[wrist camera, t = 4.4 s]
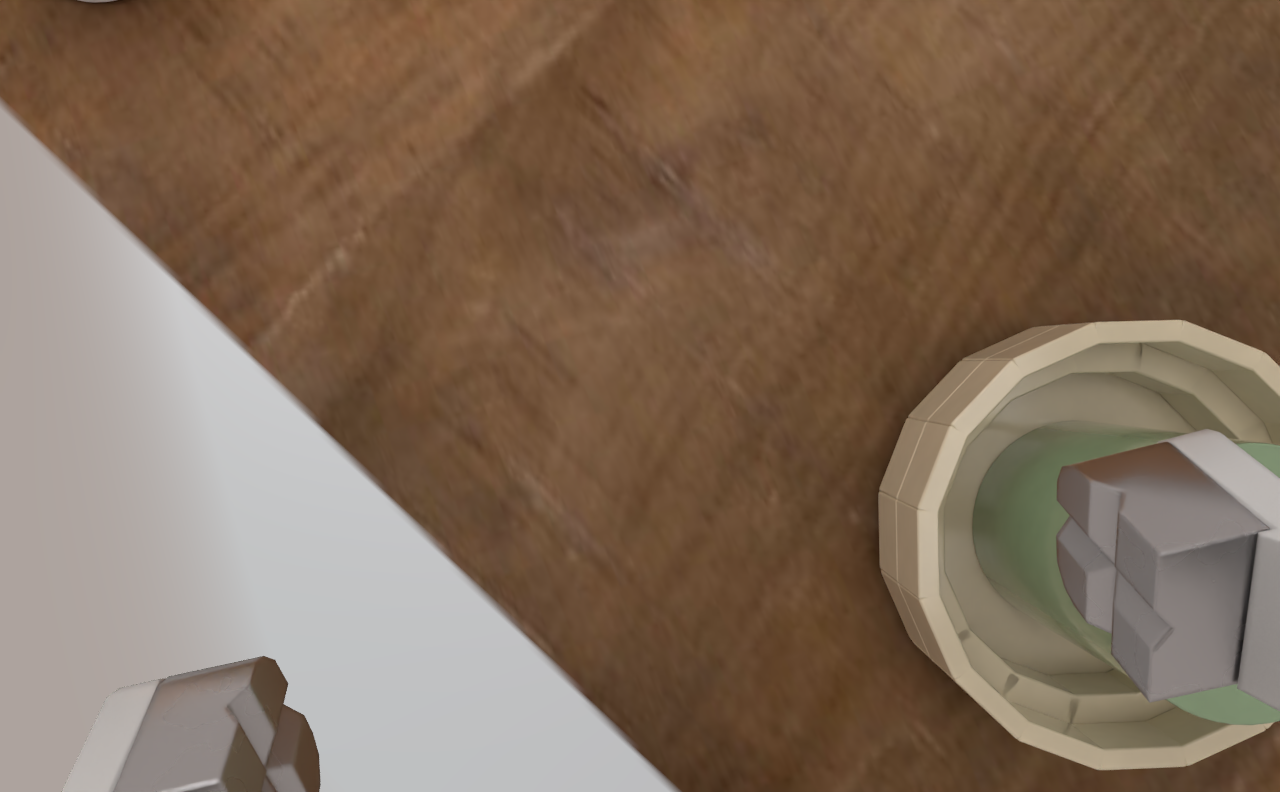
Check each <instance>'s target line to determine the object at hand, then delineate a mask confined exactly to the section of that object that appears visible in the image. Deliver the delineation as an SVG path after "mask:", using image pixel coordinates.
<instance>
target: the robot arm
mask: <svg viewBox="0 0 1280 792" xmlns="http://www.w3.org/2000/svg"><path fill="white" fill-rule="evenodd" d="M1056 500H1057V501H1058V502H1059V504H1060V505H1061V506H1062V507H1063V508H1064V509H1065V511H1066V512H1067V513H1068V514H1069V515H1070V516H1069V517H1068V519H1067V520H1066V522H1065V523H1064V525H1063V526H1062V527H1061V529H1060V530H1059V532H1058V533H1057V535H1056V550H1057V564H1058V567H1059V571H1060V574H1061V578H1062V581H1063V585H1064V588H1065V590H1066V592H1067V594H1068V595H1069V597H1070V599H1071V601H1072V603H1073V605H1074V607H1075V608H1076V609H1077V611H1078V612H1079V613H1080V615H1081V616H1082V617H1083V619H1084V620H1085V621H1086V623H1088V624H1090V625H1093V626H1095V627H1097V628H1100V629H1102V630H1104V631H1106V632H1109V633H1111V634H1112V640H1111V655H1112V656H1113V657H1114V658H1115V660H1116V661H1117V662H1118V664H1119V665H1120V666H1121V667H1122V669H1123V670H1124V671H1125V672H1126V674H1127V675H1128V676H1129V677H1130V679H1131V680H1132V681H1133V682H1134V684H1135V685H1136V686H1137V688H1138V689H1139V690H1140V691H1141V693H1142V694H1143V695H1144V696H1145V698H1146V699H1147V700H1148V701H1149V703H1151V702H1155V701H1160V700H1165V699H1169V698H1174V697H1179V696H1183V695H1188V694H1193V693H1197V692H1202V691H1207V690H1211V689H1216V688H1221V687H1225V686H1230V685H1235V684H1237V689H1239V690H1241V691H1243V692H1245V693H1247V694H1248V695H1250V696H1252V697H1254V698H1256V699H1258V700H1260V701H1261V702H1263V703H1265V704H1267V705H1269V706H1271V707H1273V708H1274V709H1276V710H1278V711H1280V478H1279V477H1277V476H1276V475H1275V474H1274V473H1272V472H1271V471H1270V470H1268V469H1267V468H1266V467H1265V466H1263V465H1262V464H1261V463H1259V462H1258V461H1257V460H1256V459H1254V458H1253V457H1252V456H1250V455H1249V454H1248V453H1246V452H1245V451H1244V450H1243V449H1241V448H1240V447H1239V446H1237V445H1236V444H1235V443H1234V442H1232V441H1231V440H1230V439H1228V438H1227V437H1226V436H1225V435H1223V434H1222V433H1220V432H1217V431H1214V430H1210V429H1204V430H1200V431H1196V432H1192V433H1188V434H1185V435H1181V436H1177V437H1173V438H1169V439H1166V440H1162V441H1159V442H1158V443H1157V444H1152V445H1148V446H1144V447H1140V448H1136V449H1132V450H1128V451H1123V452H1119V453H1115V454H1111V455H1107V456H1103V457H1099V458H1095V459H1091V460H1087V461H1082V462H1078V463H1074V464H1070V465H1066V466H1062V468H1061V470H1060V473H1059V476H1058V478H1057V499H1056ZM287 687H288V682H287V681H286V679H285V677H284V676H283V674H282V672H281V670H280V668H279V667H278V665H277V663H276V661H275V660H273V659H270V658H268V657H265V656H262V657H257V658H253V659H248V660H243V661H239V662H234V663H230V664H225V665H220V666H215V667H211V668H206V669H202V670H197V671H192V672H188V673H183V674H178V675H174V676H169V677H167V678H166V679H158V680H153V681H149V682H144V683H140V684H136V685H131V686H127V687H122V688H119V689H118V690H116V691H115V692H113V693H112V694H111V695H109V696H108V697H107V698H106V700H105V702H104V704H103V706H102V708H101V710H100V712H99V714H98V717H97V718H96V721H95V723H94V725H93V727H92V729H91V731H90V733H89V735H88V737H87V739H86V741H85V744H84V746H83V748H82V750H81V752H80V754H79V756H78V758H77V761H76V763H75V765H74V767H73V769H72V771H71V773H70V775H69V777H68V779H67V781H66V783H65V786H64V788H63V790H62V792H319V789H320V769H319V753H318V750H317V746H316V743H315V740H314V736H313V732H312V730H311V729H310V726H309V724H308V722H307V720H306V718H305V716H304V715H303V714H301V713H299V712H297V711H295V710H293V709H291V708H290V707H288V706H286V705H284V704H283V703H284V698H285V694H286V691H287Z"/></svg>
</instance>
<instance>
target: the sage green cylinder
mask: <svg viewBox="0 0 1280 792" xmlns="http://www.w3.org/2000/svg"><path fill="white" fill-rule="evenodd" d="M1185 434H1188V433H1182V432H1174V431H1166V430H1158V429H1150V428H1142V427H1134V426H1126V425H1118V424H1110V423H1102V422H1094V421H1082V420H1071V421H1060V422H1056V423H1052V424H1047V425H1045V426H1042V427H1039V428H1037V429H1034V430H1032V431H1030V432H1028V433H1027V434H1025V435H1023V436H1021V437H1020V438H1019V439H1017V440H1016V441H1014V442H1013V443H1012V444H1010V445H1009V446H1008V447H1007V448H1006V449H1005V450H1004V451H1003V452H1002V453H1001V454H1000V455H999V456H998V458H997V459H996V460H995V461H994V462H993V464H992V465H991V467H990V468H989V470H988V472H987V473H986V475H985V477H984V479H983V481H982V483H981V485H980V488H979V491H978V494H977V497H976V500H975V506H974V511H973V525H972V529H973V541H974V545H975V550H976V554H977V557H978V560H979V563H980V566H981V568H982V570H983V572H984V574H985V576H986V578H987V579H988V581H989V582H990V583H991V585H992V586H993V588H994V589H995V590H996V591H997V593H998V594H999V595H1000V596H1001V597H1002V598H1003V599H1004V600H1005V601H1006V602H1008V603H1009V604H1010V605H1011V606H1012V607H1014V608H1015V609H1017V610H1018V611H1020V612H1021V613H1023V614H1025V615H1026V616H1028V617H1030V618H1031V619H1033V620H1035V621H1036V622H1038V623H1040V624H1041V625H1043V626H1044V627H1046V628H1048V629H1049V630H1051V631H1053V632H1054V633H1056V634H1058V635H1059V636H1061V637H1063V638H1064V639H1066V640H1068V641H1069V642H1071V643H1072V644H1074V645H1076V646H1077V647H1079V648H1081V649H1082V650H1084V651H1086V652H1087V653H1089V654H1091V655H1092V656H1094V657H1096V658H1097V659H1099V660H1101V661H1102V662H1104V663H1105V664H1107V665H1109V666H1110V667H1112V668H1114V669H1115V670H1117V671H1119V672H1120V673H1122V674H1124V675H1125V676H1127V677H1129V676H1128V675H1127V674H1126V672H1125V671H1124V670H1123V669H1122V667H1121V666H1120V665H1119V664H1118V662H1117V661H1116V660H1115V658H1114V657H1113V656H1112V655H1111V640H1112V634H1111V633H1109V632H1106V631H1104V630H1102V629H1100V628H1097V627H1095V626H1093V625H1090V624H1088V623H1086V621H1085V620H1084V619H1083V617H1082V616H1081V615H1080V613H1079V612H1078V611H1077V609H1076V608H1075V607H1074V605H1073V603H1072V601H1071V599H1070V597H1069V595H1068V594H1067V592H1066V590H1065V588H1064V585H1063V581H1062V578H1061V574H1060V571H1059V567H1058V564H1057V550H1056V535H1057V533H1058V532H1059V530H1060V529H1061V527H1062V526H1063V525H1064V523H1065V522H1066V520H1067V519H1068V517H1069V516H1070V515H1069V514H1068V513H1067V512H1066V511H1065V509H1064V508H1063V507H1062V506H1061V505H1060V504H1059V502H1058V501H1057V500H1056V499H1057V478H1058V476H1059V473H1060V470H1061V468H1062V466H1066V465H1070V464H1074V463H1078V462H1082V461H1087V460H1091V459H1095V458H1099V457H1103V456H1107V455H1111V454H1115V453H1119V452H1123V451H1128V450H1132V449H1136V448H1140V447H1144V446H1148V445H1152V444H1157V443H1158V442H1159V441H1162V440H1166V439H1169V438H1173V437H1177V436H1181V435H1185ZM1228 439H1230V438H1228ZM1230 440H1231V441H1232V442H1234V443H1235V444H1236V445H1237V446H1239V447H1240V448H1241V449H1243V450H1244V451H1245V452H1246V453H1248V454H1249V455H1250V456H1252V457H1253V458H1254V459H1256V460H1257V461H1258V462H1259V463H1261V464H1262V465H1263V466H1265V467H1266V468H1267V469H1268V470H1270V471H1271V472H1272V473H1274V474H1275V475H1276V476H1277V477H1279V478H1280V445H1275V444H1270V443H1262V442H1254V441H1246V440H1238V439H1230ZM1129 678H1130V677H1129ZM1165 700H1166V701H1168V702H1170V703H1171V704H1173V705H1175V706H1176V707H1178V708H1180V709H1181V710H1184V711H1186V712H1188V713H1190V714H1192V715H1195V716H1197V717H1200V718H1203V719H1207V720H1210V721H1213V722H1218V723H1225V724H1231V725H1258V724H1267V723H1273V722H1277V721H1280V711H1278V710H1276V709H1274V708H1273V707H1271V706H1269V705H1267V704H1265V703H1263V702H1261V701H1260V700H1258V699H1256V698H1254V697H1252V696H1250V695H1248V694H1247V693H1245V692H1243V691H1241V690H1239V689H1237V684H1235V685H1230V686H1225V687H1221V688H1216V689H1211V690H1207V691H1202V692H1197V693H1193V694H1188V695H1183V696H1179V697H1174V698H1169V699H1165Z"/></svg>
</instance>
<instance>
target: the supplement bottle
mask: <svg viewBox="0 0 1280 792" xmlns="http://www.w3.org/2000/svg"><path fill="white" fill-rule="evenodd" d="M79 1H84V2H110V1H116V0H79Z"/></svg>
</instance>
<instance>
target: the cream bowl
mask: <svg viewBox="0 0 1280 792" xmlns="http://www.w3.org/2000/svg"><path fill="white" fill-rule="evenodd" d="M1071 420H1082V421H1094V422H1102V423H1110V424H1118V425H1126V426H1134V427H1142V428H1150V429H1158V430H1166V431H1174V432H1182V433H1192V432H1196V431H1200V430H1204V429H1210V430H1214V431H1217V432H1220V433H1222V434H1223V435H1225V436H1226V437H1227V438H1230V439H1238V440H1246V441H1254V442H1262V443H1270V444H1275V445H1280V367H1279V366H1278V365H1277V364H1276V363H1275V362H1274V361H1273V360H1272V359H1271V358H1270V357H1269V356H1268V355H1267V354H1266V353H1264V352H1262V351H1261V350H1258V349H1256V348H1253V347H1251V346H1248V345H1246V344H1243V343H1241V342H1238V341H1235V340H1233V339H1230V338H1228V337H1225V336H1223V335H1220V334H1218V333H1215V332H1213V331H1210V330H1208V329H1205V328H1202V327H1200V326H1197V325H1195V324H1192V323H1190V322H1187V321H1182V320H1147V321H1110V322H1088V323H1076V324H1062V325H1050V326H1037V327H1033V328H1029V329H1027V330H1025V331H1023V332H1021V333H1018V334H1016V335H1014V336H1012V337H1009V338H1007V339H1005V340H1003V341H1001V342H998V343H996V344H994V345H992V346H989V347H987V348H985V349H983V350H981V351H978V352H976V353H974V354H972V355H970V356H967V357H965V358H963V359H962V360H961V361H959V362H958V363H957V365H956V366H955V367H954V368H953V369H952V370H951V371H950V372H949V373H948V374H947V375H946V376H945V377H944V378H943V379H942V380H941V381H940V383H939V384H938V385H937V386H936V387H935V388H934V389H933V390H932V391H931V392H930V393H929V394H928V395H927V396H926V397H925V398H924V399H923V401H922V402H921V403H920V404H919V405H918V406H917V407H916V408H915V409H914V410H913V411H912V412H911V413H910V414H909V416H908V418H907V419H906V421H905V424H904V426H903V429H902V431H901V434H900V436H899V439H898V442H897V444H896V447H895V449H894V452H893V455H892V457H891V460H890V462H889V465H888V467H887V470H886V473H885V475H884V478H883V480H882V483H881V485H880V488H879V491H880V492H879V493H878V505H879V556H880V569H881V574H882V576H883V578H884V581H885V583H886V585H887V587H888V590H889V592H890V594H891V596H892V599H893V601H894V603H895V606H896V608H897V610H898V612H899V615H900V617H901V619H902V621H903V624H904V626H905V628H906V631H907V633H908V635H909V637H910V639H911V640H912V642H913V643H914V644H915V645H916V646H917V647H918V648H919V649H920V650H921V651H922V652H923V653H924V654H925V655H926V656H927V657H928V658H929V659H931V660H932V661H933V662H934V663H935V664H936V665H937V666H938V667H939V668H940V669H941V670H942V671H943V672H944V673H945V674H946V675H947V676H949V677H950V678H951V679H952V680H953V681H954V682H955V683H956V684H957V685H958V686H959V687H960V688H961V689H962V690H963V691H964V692H965V693H967V694H968V695H969V696H970V697H971V698H972V699H973V700H974V701H975V702H976V703H977V704H978V705H980V706H981V707H982V708H983V709H984V710H985V711H986V712H987V713H988V714H989V715H990V716H991V717H993V718H994V719H995V720H996V721H997V722H998V723H999V724H1000V725H1001V726H1002V727H1003V728H1004V729H1006V730H1007V731H1008V732H1009V733H1010V734H1011V735H1012V736H1013V737H1014V738H1016V739H1017V740H1018V741H1020V742H1023V743H1026V744H1028V745H1031V746H1034V747H1036V748H1039V749H1042V750H1045V751H1047V752H1050V753H1053V754H1055V755H1058V756H1061V757H1063V758H1066V759H1069V760H1072V761H1074V762H1077V763H1080V764H1082V765H1085V766H1088V767H1090V768H1093V769H1096V770H1118V769H1142V768H1166V767H1185V766H1189V765H1192V764H1194V763H1196V762H1198V761H1200V760H1202V759H1205V758H1207V757H1209V756H1211V755H1213V754H1215V753H1218V752H1220V751H1222V750H1224V749H1226V748H1228V747H1231V746H1233V745H1235V744H1237V743H1239V742H1242V741H1244V740H1246V739H1248V738H1250V737H1252V736H1255V735H1257V734H1259V733H1261V732H1263V731H1265V730H1266V729H1268V728H1269V727H1270V726H1271V725H1272V724H1273V723H1274V722H1273V723H1267V724H1258V725H1231V724H1225V723H1218V722H1213V721H1210V720H1207V719H1203V718H1200V717H1197V716H1195V715H1192V714H1190V713H1188V712H1186V711H1184V710H1181V709H1180V708H1178V707H1176V706H1175V705H1173V704H1171V703H1170V702H1168V701H1166V700H1160V701H1155V702H1151V703H1149V701H1148V700H1147V699H1146V698H1145V696H1144V695H1143V694H1142V693H1141V691H1140V690H1139V689H1138V688H1137V686H1136V685H1135V684H1134V682H1133V681H1132V680H1131V679H1130V678H1129V677H1127V676H1125V675H1124V674H1122V673H1120V672H1119V671H1117V670H1115V669H1114V668H1112V667H1110V666H1109V665H1107V664H1105V663H1104V662H1102V661H1101V660H1099V659H1097V658H1096V657H1094V656H1092V655H1091V654H1089V653H1087V652H1086V651H1084V650H1082V649H1081V648H1079V647H1077V646H1076V645H1074V644H1072V643H1071V642H1069V641H1068V640H1066V639H1064V638H1063V637H1061V636H1059V635H1058V634H1056V633H1054V632H1053V631H1051V630H1049V629H1048V628H1046V627H1044V626H1043V625H1041V624H1040V623H1038V622H1036V621H1035V620H1033V619H1031V618H1030V617H1028V616H1026V615H1025V614H1023V613H1021V612H1020V611H1018V610H1017V609H1015V608H1014V607H1012V606H1011V605H1010V604H1009V603H1008V602H1006V601H1005V600H1004V599H1003V598H1002V597H1001V596H1000V595H999V594H998V593H997V591H996V590H995V589H994V588H993V586H992V585H991V583H990V582H989V581H988V579H987V578H986V576H985V574H984V572H983V570H982V568H981V566H980V563H979V560H978V557H977V554H976V550H975V545H974V541H973V529H972V525H973V511H974V506H975V500H976V497H977V494H978V491H979V488H980V485H981V483H982V481H983V479H984V477H985V475H986V473H987V472H988V470H989V468H990V467H991V465H992V464H993V462H994V461H995V460H996V459H997V458H998V456H999V455H1000V454H1001V453H1002V452H1003V451H1004V450H1005V449H1006V448H1007V447H1008V446H1009V445H1010V444H1012V443H1013V442H1014V441H1016V440H1017V439H1019V438H1020V437H1021V436H1023V435H1025V434H1027V433H1028V432H1030V431H1032V430H1034V429H1037V428H1039V427H1042V426H1045V425H1047V424H1052V423H1056V422H1060V421H1071ZM1265 728H1266V729H1265Z"/></svg>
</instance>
